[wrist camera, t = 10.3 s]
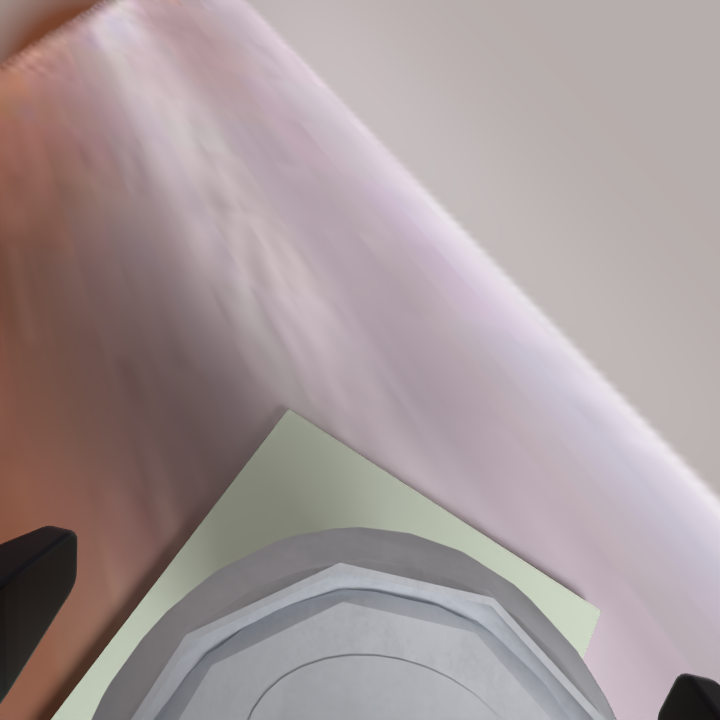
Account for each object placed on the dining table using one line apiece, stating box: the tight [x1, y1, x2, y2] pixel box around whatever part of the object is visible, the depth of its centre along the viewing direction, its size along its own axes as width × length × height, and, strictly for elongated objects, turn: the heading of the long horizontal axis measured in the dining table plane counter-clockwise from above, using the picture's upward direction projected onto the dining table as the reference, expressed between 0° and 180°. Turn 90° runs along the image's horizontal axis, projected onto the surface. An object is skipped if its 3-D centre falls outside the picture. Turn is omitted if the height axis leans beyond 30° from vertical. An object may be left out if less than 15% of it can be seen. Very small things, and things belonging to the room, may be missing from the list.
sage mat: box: [51, 409, 601, 720], centre depth 14 cm, size 11×11×1 cm
